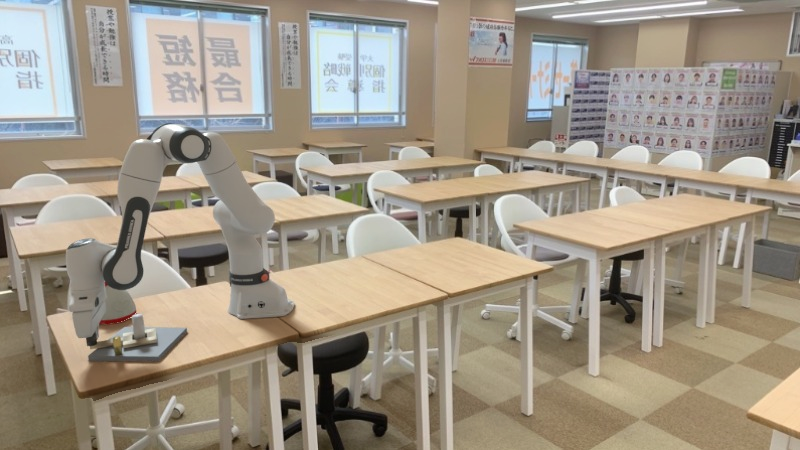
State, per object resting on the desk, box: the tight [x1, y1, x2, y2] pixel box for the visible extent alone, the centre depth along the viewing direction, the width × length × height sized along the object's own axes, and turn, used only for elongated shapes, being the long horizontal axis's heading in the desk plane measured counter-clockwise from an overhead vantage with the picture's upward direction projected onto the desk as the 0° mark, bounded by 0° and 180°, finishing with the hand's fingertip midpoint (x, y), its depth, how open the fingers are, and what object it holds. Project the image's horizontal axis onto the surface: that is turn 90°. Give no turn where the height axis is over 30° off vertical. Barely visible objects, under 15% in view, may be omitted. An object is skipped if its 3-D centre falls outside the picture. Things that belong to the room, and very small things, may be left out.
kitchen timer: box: [99, 281, 137, 325], centre depth 185 cm, size 14×14×15 cm
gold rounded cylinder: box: [113, 336, 123, 356], centre depth 156 cm, size 2×2×5 cm
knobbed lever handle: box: [85, 328, 157, 350], centre depth 162 cm, size 18×9×4 cm, turn 116°
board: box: [87, 313, 188, 362], centre depth 164 cm, size 20×20×10 cm
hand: (95, 339), depth 162 cm, fingers closed
